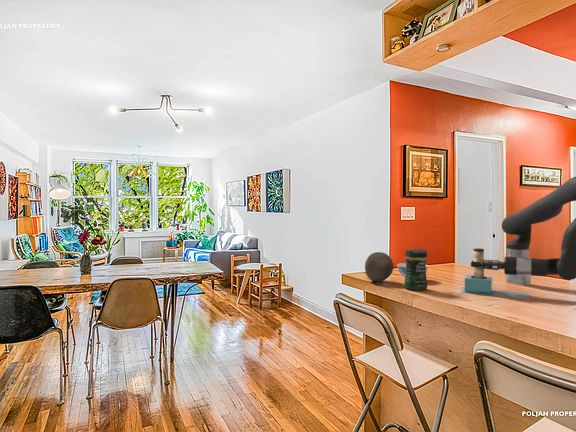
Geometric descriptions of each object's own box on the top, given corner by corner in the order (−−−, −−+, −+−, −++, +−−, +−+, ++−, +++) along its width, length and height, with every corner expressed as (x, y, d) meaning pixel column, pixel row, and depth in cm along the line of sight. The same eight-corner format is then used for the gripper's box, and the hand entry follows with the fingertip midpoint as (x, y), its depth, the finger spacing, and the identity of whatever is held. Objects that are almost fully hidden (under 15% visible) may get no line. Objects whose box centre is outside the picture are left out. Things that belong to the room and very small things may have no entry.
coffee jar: (411, 291, 166) (411, 250, 165) (401, 288, 173) (401, 248, 173) (430, 290, 168) (430, 249, 168) (420, 286, 176) (420, 247, 175)
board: (528, 295, 157) (528, 292, 157) (530, 302, 146) (530, 299, 146) (463, 289, 170) (463, 287, 170) (460, 295, 158) (460, 292, 158)
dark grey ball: (363, 283, 183) (363, 253, 183) (366, 278, 197) (366, 250, 197) (393, 285, 179) (393, 254, 179) (393, 280, 193) (393, 251, 192)
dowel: (479, 284, 163) (479, 248, 163) (486, 286, 159) (486, 249, 159) (471, 285, 162) (471, 248, 162) (478, 286, 158) (478, 249, 158)
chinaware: (402, 276, 203) (402, 262, 203) (431, 279, 194) (431, 264, 194) (393, 280, 191) (393, 265, 191) (422, 283, 182) (422, 268, 182)
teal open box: (492, 290, 162) (492, 276, 162) (491, 294, 154) (491, 280, 154) (466, 287, 167) (466, 274, 167) (464, 292, 159) (464, 278, 159)
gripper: (517, 255, 159) (472, 253, 168) (518, 259, 147) (469, 256, 156) (517, 272, 159) (472, 269, 168) (518, 278, 147) (469, 274, 156)
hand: (471, 263), depth 162 cm, fingers closed on dowel, 4 cm apart
